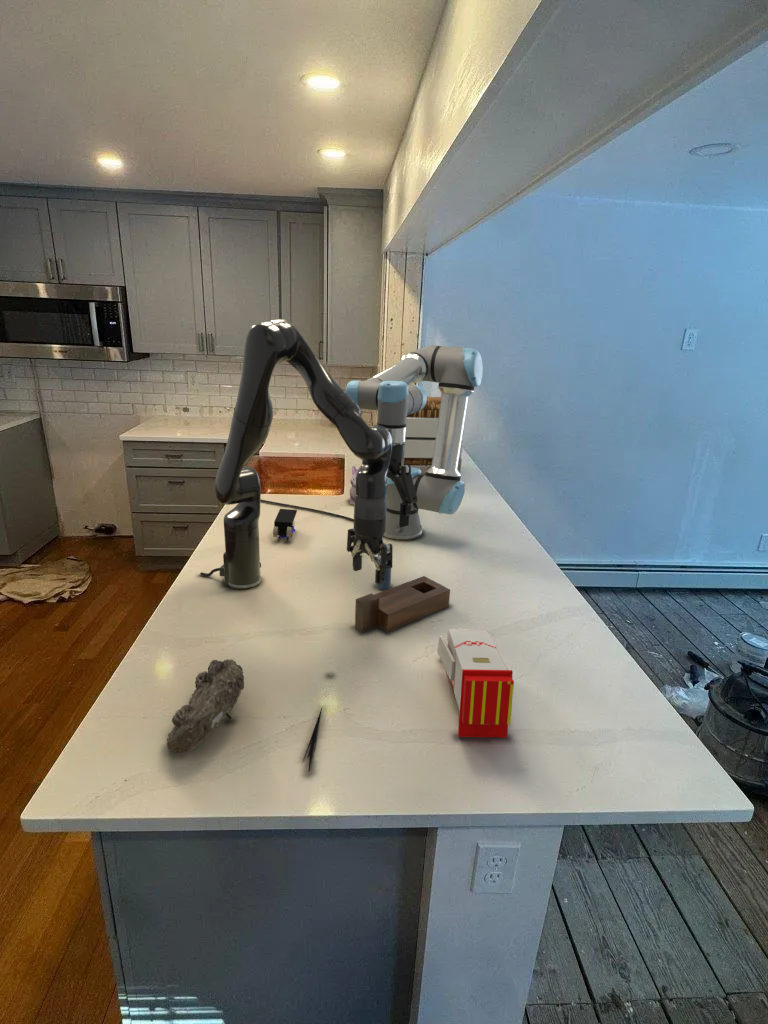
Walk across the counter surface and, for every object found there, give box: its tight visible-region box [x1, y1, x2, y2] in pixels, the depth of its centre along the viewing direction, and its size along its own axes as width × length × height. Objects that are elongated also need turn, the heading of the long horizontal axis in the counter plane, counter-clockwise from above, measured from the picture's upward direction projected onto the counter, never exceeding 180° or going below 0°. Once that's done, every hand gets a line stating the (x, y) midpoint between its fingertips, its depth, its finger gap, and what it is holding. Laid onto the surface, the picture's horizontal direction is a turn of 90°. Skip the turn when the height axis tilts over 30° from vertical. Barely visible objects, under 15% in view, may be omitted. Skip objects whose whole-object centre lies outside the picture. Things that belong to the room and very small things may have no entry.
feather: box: [301, 673, 332, 771], centre depth 108 cm, size 2×28×2 cm
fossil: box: [166, 658, 245, 754], centre depth 106 cm, size 22×10×15 cm
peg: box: [375, 553, 392, 591], centre depth 160 cm, size 4×4×12 cm
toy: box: [437, 628, 515, 738], centre depth 117 cm, size 12×13×30 cm
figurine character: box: [272, 508, 298, 542], centre depth 192 cm, size 7×8×15 cm
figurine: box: [348, 465, 361, 506], centre depth 228 cm, size 9×10×15 cm
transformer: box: [402, 392, 465, 475], centre depth 268 cm, size 34×33×41 cm
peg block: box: [354, 575, 451, 633], centre depth 146 cm, size 10×27×8 cm, turn 131°
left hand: (368, 576), depth 136 cm, fingers open, 8 cm apart
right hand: (386, 518), depth 155 cm, fingers open, 13 cm apart
